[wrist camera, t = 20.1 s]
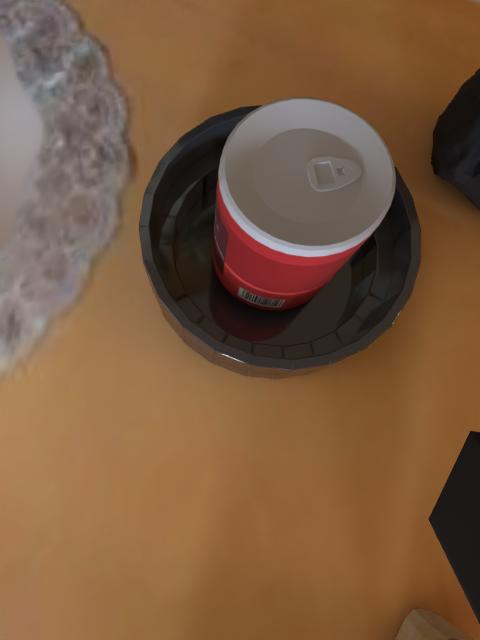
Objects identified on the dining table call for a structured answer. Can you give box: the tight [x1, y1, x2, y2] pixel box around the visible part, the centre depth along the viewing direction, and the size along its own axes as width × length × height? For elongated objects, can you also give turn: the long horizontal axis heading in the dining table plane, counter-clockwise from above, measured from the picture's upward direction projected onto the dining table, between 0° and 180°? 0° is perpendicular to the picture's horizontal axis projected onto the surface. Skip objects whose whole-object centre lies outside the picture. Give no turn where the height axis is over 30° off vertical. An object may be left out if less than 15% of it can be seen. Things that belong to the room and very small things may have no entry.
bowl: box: [139, 105, 421, 379], centre depth 28 cm, size 16×16×6 cm
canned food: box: [213, 97, 396, 311], centre depth 25 cm, size 8×8×11 cm
